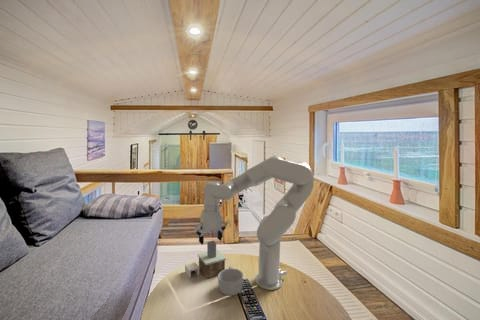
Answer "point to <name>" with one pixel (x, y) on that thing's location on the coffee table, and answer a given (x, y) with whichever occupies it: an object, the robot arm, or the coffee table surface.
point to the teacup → (230, 281)
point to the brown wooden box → (211, 268)
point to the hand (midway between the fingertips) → (210, 241)
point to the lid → (211, 254)
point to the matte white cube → (191, 268)
